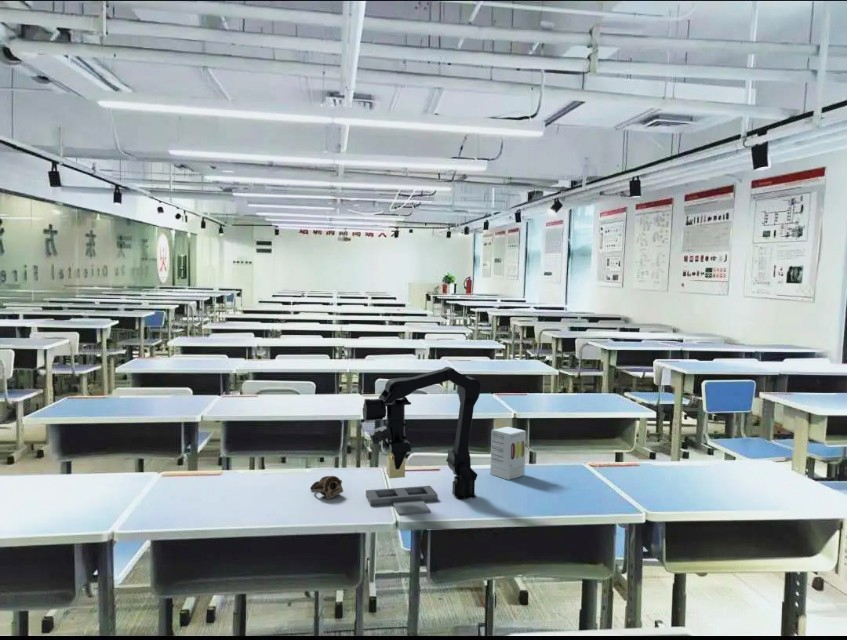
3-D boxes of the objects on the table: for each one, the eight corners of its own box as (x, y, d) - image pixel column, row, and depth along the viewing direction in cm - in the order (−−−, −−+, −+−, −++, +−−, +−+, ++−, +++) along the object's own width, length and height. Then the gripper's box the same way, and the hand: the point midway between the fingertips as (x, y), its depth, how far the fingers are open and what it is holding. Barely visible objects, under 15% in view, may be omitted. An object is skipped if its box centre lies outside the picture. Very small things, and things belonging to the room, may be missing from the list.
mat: (422, 501, 203) (422, 499, 203) (430, 512, 194) (430, 510, 194) (392, 503, 201) (392, 501, 201) (398, 514, 191) (398, 513, 191)
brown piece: (312, 486, 201) (342, 476, 204) (305, 470, 213) (334, 462, 216) (316, 506, 202) (346, 496, 205) (310, 490, 214) (338, 481, 217)
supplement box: (508, 480, 226) (509, 434, 225) (489, 474, 233) (490, 429, 232) (525, 475, 232) (526, 430, 231) (506, 469, 239) (507, 425, 238)
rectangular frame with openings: (430, 491, 213) (430, 485, 213) (437, 500, 204) (437, 494, 204) (365, 496, 207) (365, 490, 207) (370, 505, 199) (370, 499, 198)
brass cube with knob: (401, 472, 205) (401, 448, 204) (404, 477, 200) (404, 452, 199) (386, 473, 203) (386, 449, 203) (389, 478, 199) (389, 453, 198)
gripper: (366, 413, 207) (366, 460, 209) (375, 426, 189) (375, 477, 190) (399, 412, 210) (399, 458, 211) (411, 424, 192) (411, 474, 193)
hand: (395, 466), depth 201 cm, fingers closed on brass cube with knob, 5 cm apart
